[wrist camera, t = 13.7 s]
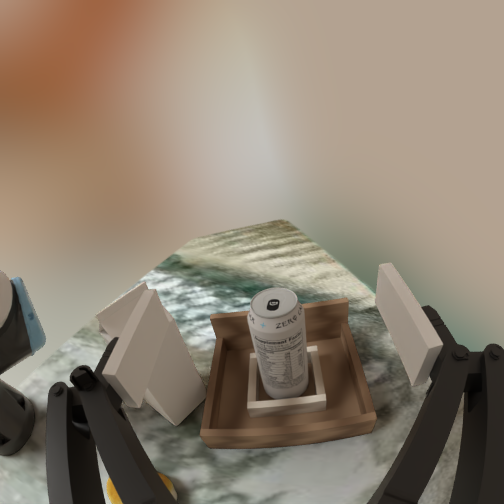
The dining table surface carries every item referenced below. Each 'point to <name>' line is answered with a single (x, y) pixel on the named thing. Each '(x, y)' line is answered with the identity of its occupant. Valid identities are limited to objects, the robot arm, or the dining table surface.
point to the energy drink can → (279, 342)
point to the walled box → (293, 409)
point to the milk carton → (160, 361)
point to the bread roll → (116, 499)
